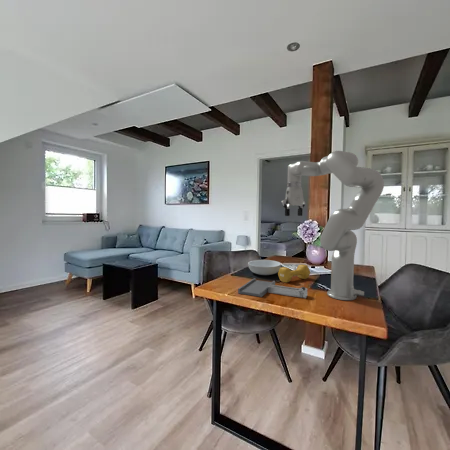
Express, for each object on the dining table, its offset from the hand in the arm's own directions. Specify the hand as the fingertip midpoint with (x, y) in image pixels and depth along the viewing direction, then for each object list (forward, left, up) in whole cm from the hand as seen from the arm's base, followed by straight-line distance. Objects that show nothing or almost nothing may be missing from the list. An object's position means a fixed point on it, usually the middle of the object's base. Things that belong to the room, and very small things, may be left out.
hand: (293, 215), depth 147 cm
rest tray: (+12, +26, -37) cm, 47 cm away
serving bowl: (+19, -6, -38) cm, 42 cm away
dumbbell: (-1, 0, -38) cm, 38 cm away
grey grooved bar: (-3, +27, -37) cm, 46 cm away
